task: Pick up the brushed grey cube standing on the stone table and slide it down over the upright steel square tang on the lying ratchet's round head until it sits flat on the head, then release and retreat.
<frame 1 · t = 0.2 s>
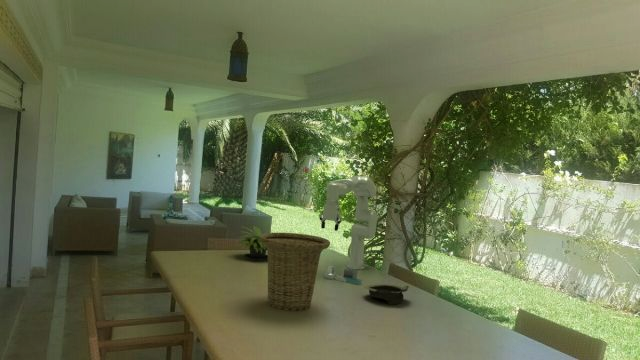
hand: (329, 229, 307), 31 cm above the table, fingers open, 9 cm apart
fern plant: (257, 259, 345), on the table
stone bowl: (384, 300, 266), on the table
brushed grey cube: (349, 279, 308), on the table
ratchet: (330, 277, 306), on the table
wicker basket: (289, 304, 240), on the table
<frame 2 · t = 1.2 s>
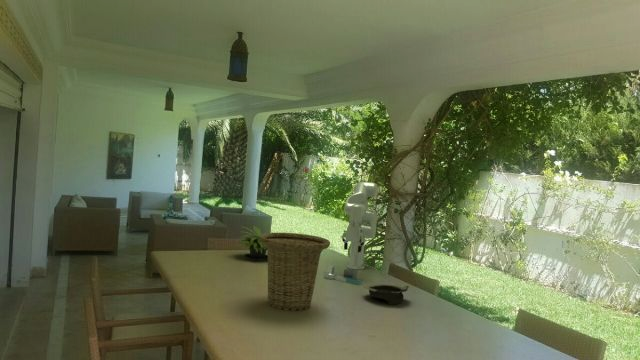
hand: (352, 250, 308), 18 cm above the table, fingers open, 9 cm apart
nothing on the table moved.
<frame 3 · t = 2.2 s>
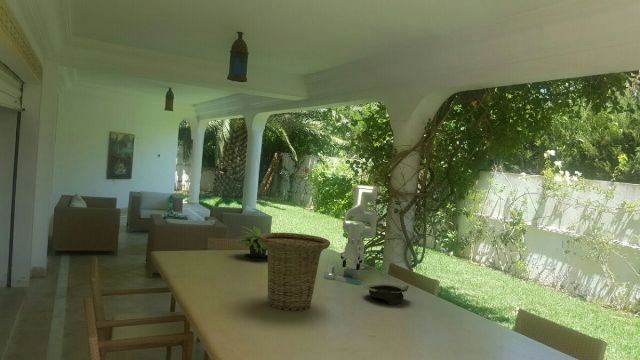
hand: (350, 268, 307), 7 cm above the table, fingers open, 9 cm apart
nothing on the table moved.
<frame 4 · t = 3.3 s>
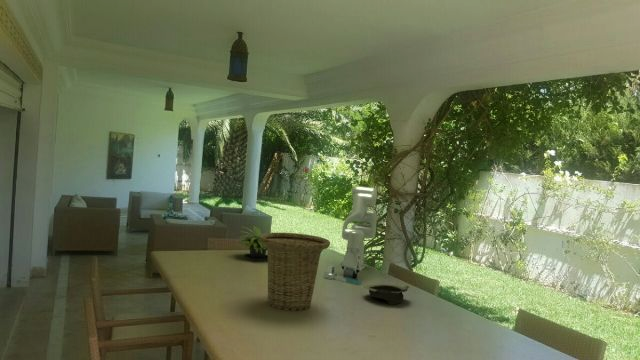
hand: (350, 278, 308), 1 cm above the table, fingers closed on brushed grey cube, 6 cm apart
brushed grey cube: (349, 279, 308), on the table, touching gripper
everything else where it was.
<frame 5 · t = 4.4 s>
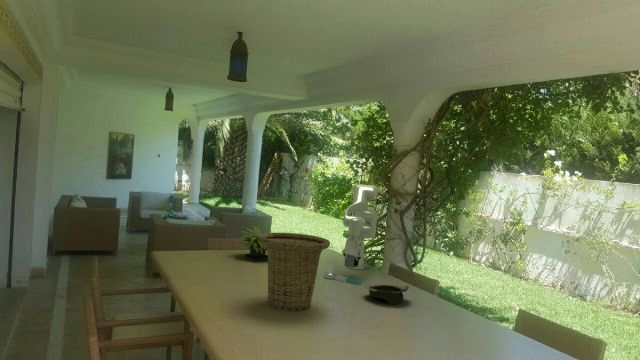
hand: (351, 264, 309), 9 cm above the table, fingers closed on brushed grey cube, 6 cm apart
brushed grey cube: (351, 266, 309), point 8 cm above the table, touching gripper
everything else where it was.
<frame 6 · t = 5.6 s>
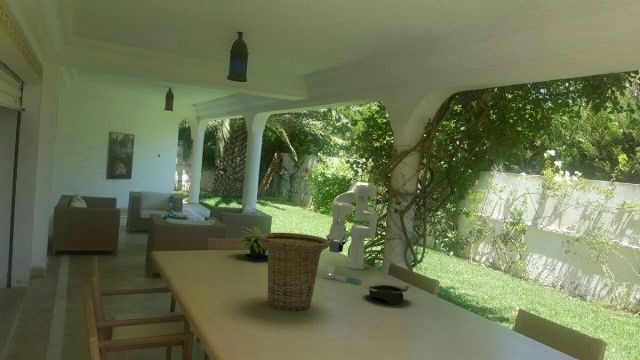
hand: (335, 250, 306), 18 cm above the table, fingers closed on brushed grey cube, 6 cm apart
brushed grey cube: (335, 251, 306), point 17 cm above the table, touching gripper
everything else where it was.
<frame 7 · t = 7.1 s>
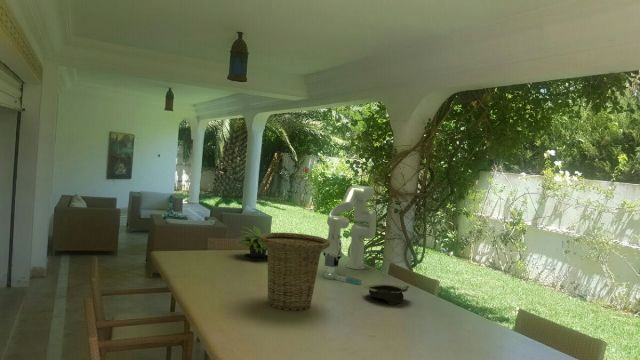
hand: (331, 264, 306), 9 cm above the table, fingers closed on brushed grey cube, 6 cm apart
brushed grey cube: (331, 265, 306), point 8 cm above the table, touching gripper
everything else where it was.
when the fingers open (4 cm above the table, at t = 8.4 s): brushed grey cube stays where it is, resting on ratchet.
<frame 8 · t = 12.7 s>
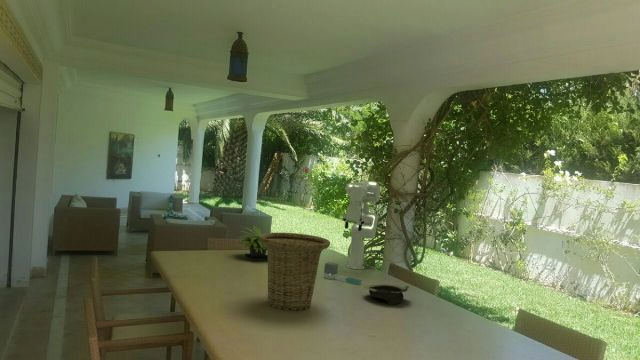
hand: (353, 229, 319), 30 cm above the table, fingers open, 9 cm apart
brushed grey cube: (330, 273, 306), point 3 cm above the table, touching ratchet
everything else where it was.
at the end: brushed grey cube 0.1 cm off-centre on the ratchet, point 3.0 cm above the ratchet's base; brushed grey cube tilted 0°; the gripper is holding nothing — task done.
